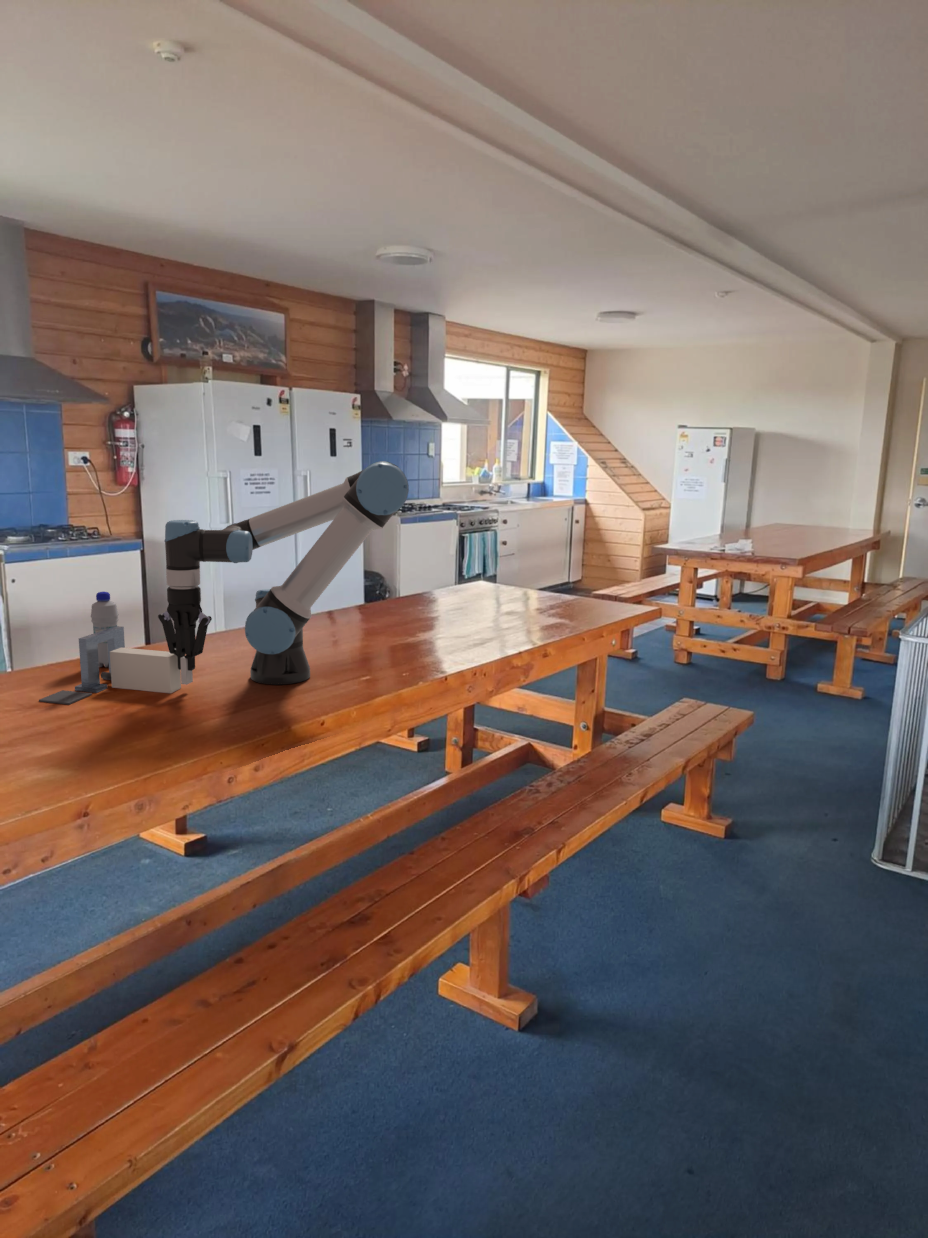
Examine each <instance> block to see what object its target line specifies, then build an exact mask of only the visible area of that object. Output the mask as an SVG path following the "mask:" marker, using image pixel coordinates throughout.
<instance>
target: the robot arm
mask: <svg viewBox="0 0 928 1238" xmlns="http://www.w3.org/2000/svg"><path fill="white" fill-rule="evenodd" d="M409 488H410V487H409V482H408V478H407V476H406V474H405V473H404V471H403V470H402V469H401V468H400V467H399V466H398V465H396V464H394V463H393V462H389V461H377V462H374V463H371V464H369V465H368V466H367V467H365V468H364V469H362V470H361V471H359V472H357V473H354V474H352V475H350V476H347V477H345V479H344V481H343V482H342V483H340V484H338V485H335V486H332V487H330V488H329V487H328V488H327V489H324V490H321V491H319V492H316V493H314V494H311V495H308V496H305V497H303V498H300V499H297V500H295V501H291V502H289V503H287V504H284V505H281V506H279V507H276V508H274V509H271V510H268V511H265V512H263V513H261V514H257V515H255V516H253V517H250V518H248V519H244V520H242V521H241V520H240V521H239V522H236V523H231V524H229V525H227V526H226V527H225V528H223V529H203V528H201V529H200V525H199V522H198V521H196V520H192V519H191V520H189V519H173V520H168V521H167V522H166V523H165V527H164V528H165V529H164V530H165V532H164V548H165V562H166V566H165V567H166V569H165V572H166V574H165V575H166V585H167V586H168V587H167V588H166V596H167V599H166V600H167V603H168V604H167V608H166V610H165V611H164V612H162V613H160V614H158V615H157V618H158V620H159V621H160V623H161V624H162V627H163V628H162V629H163V633H164V636H165V640H166V643H167V648H168V652H170V653H171V654H175V655H176V656H177V658H178V669H179V670H180V674H181V685H186V686H187V685H190V684H191V683H193V682H194V680H193V671H194V670H195V668H196V656H199V655H202V654H203V652H204V648H205V647H204V645H205V642H206V639H207V638H206V636H207V631H208V626H209V625H210V623H211V621H212V619H213V618H212V616H211V615H206V614H205V613H204V612H203V609H202V607H201V601H202V595H201V594H202V592H201V591H202V590H201V587H200V585H201V564H200V563H202V562H203V563H206V562H210V563H233V564H238V563H248V562H250V561H251V560H252V556H253V551H254V550H256V549H259V548H261V547H264V546H266V545H270V544H272V543H274V542H277V541H280V540H283V539H285V538H288V537H291V536H293V535H295V534H298V533H299V534H300V533H301V532H305V531H306V530H310V529H312V528H315V527H318V526H321V525H323V524H325V523H328V522H331V523H329V525H328V526H327V527H326V529H325V530H324V531H323V533H321V535H320V537H319V538H317V540H316V541H315V543H313V545H312V547H311V548H310V549H309V550H308V551H307V552H306V554H305V555H304V556H303V558H302V559H301V560H300V561H299V563H297V566H296V567H295V568H294V569H293V571H292V572H291V573H290V574H289V576H288V577H287V578H286V580H284V581H283V583H282V585H277V586H271V588H270V589H259V590H256V593H255V599H254V602H255V608H254V609H253V610H252V611H251V612H250V613H249V615H248V616H247V618H246V620H245V626H244V633H245V637H246V640H247V642H248V643H249V645H250V646H251V647H252V648H253V649H254V650H255V654H254V657H253V661H252V664H251V666H250V679H251V680H252V682H255V683H259V684H264V685H290V684H297V683H298V684H299V683H301V682H305V681H307V680H309V678H311V665H310V663H309V661H308V657H307V655H306V651H305V650H304V633H303V632H304V631H303V630H304V629H303V628H304V626H305V625H307V623H308V622H309V621H310V619H311V618H312V609H311V608H312V607H313V605H314V604H315V603H316V602H317V600H318V599H319V598H320V597H321V595H322V594H323V593H324V592H325V590H326V589H327V588H328V586H330V584H331V583H332V582H333V580H334V579H335V577H337V575H338V574H339V573H340V572H341V570H342V569H343V568H344V567H345V565H346V564H347V562H348V561H350V559H351V557H352V556H353V555H354V554H355V553H356V551H357V550H358V549H359V548H360V547H361V545H362V544H363V542H364V541H365V540H366V539H367V538H368V536H369V535H370V534H371V532H373V531H374V530H382V529H383V528H384V527H385V525H386V524H387V523H388V522H389V520H390V519H391V518H392V517H393V515H394V514H395V513H396V512H398V510H400V509H402V507H403V506H404V505H405V502H406V501H407V500H408V496H409V491H410V490H409ZM197 621H198V627H197ZM196 627H197V630H196Z"/></svg>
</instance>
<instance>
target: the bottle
mask: <svg viewBox="0 0 928 1238" xmlns="http://www.w3.org/2000/svg"><path fill="white" fill-rule="evenodd" d="M95 600H96V602H93V603H92V605H91V609H90V610H91V613H90V618H91V623H92V629H93V630H92V632H93V633H92V634H94V633H97V632H100V631H103V630H106V629H109V628H112V627H116V626H118V621H119V612H118V607H117V603H116V602H113V601H111V593H110V592H108V591H98V592H97V593H96V596H95ZM97 645H98V661H99V668H102V667H103V666H104V667H105V668H109V660H108V644H107V641H104V642H101V643H98V644H97Z"/></svg>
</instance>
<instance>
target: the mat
mask: <svg viewBox="0 0 928 1238" xmlns="http://www.w3.org/2000/svg"><path fill="white" fill-rule="evenodd" d="M90 696H93V692H84V691H75V690H73V691H72V690H63V689H62V690H60V691H57V692H54V693H52V694H49V695H47V696H45V697H42V698H39V699H38V703H39V702H41V703H49V704H60V705H72V704H74V703H76V702H79V701H81V700H84V699H86V698H89V697H90Z"/></svg>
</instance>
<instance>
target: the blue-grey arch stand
mask: <svg viewBox="0 0 928 1238" xmlns="http://www.w3.org/2000/svg"><path fill="white" fill-rule="evenodd" d="M104 641H107V644H108V660H109V664H108V672H111V665H110V651H113V650H116V649H118V648H121V647H122V648H126V647H125V646H126V644H125V628H124V626H119V625H117V626H116V627H112V628H109V629H106V630H103V631H100V632H97V633H91V634H88V635H84V636H81V637H79V638H78V649H79V652H78V653H79V662H80V664H79V665H80V675H81V676H80V678H81V680H80V681H81V683H80V684H77V685H75V686H74V691H75V692H85V693H95V694H98V693H99V692H102V691H104V690H107V689H108V684H107V683H101V681H100V680H101V679H100V678H101V675H100V667H99V661H98V645H97V644H98V643H101V642H104ZM102 680H107V681H111V679H105V678H102Z"/></svg>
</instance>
